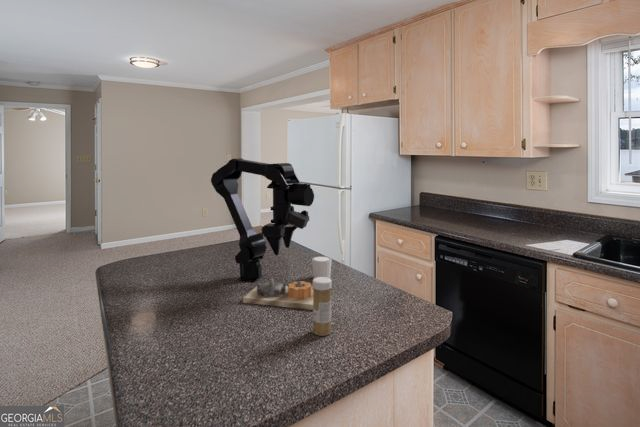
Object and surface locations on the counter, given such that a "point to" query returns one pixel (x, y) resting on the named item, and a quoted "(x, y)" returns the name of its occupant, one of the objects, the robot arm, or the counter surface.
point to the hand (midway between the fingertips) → (282, 251)
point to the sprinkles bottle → (322, 306)
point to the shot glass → (321, 266)
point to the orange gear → (300, 290)
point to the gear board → (277, 296)
